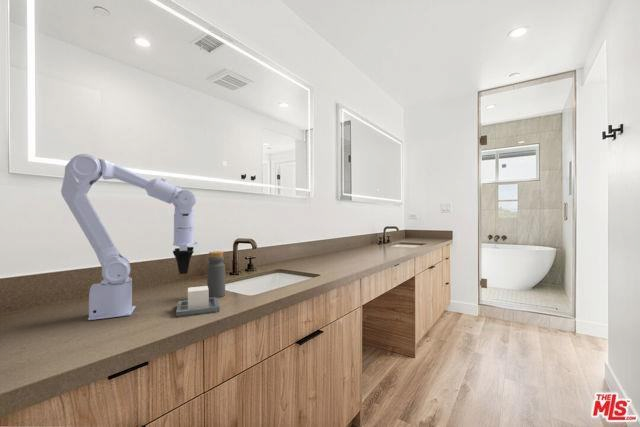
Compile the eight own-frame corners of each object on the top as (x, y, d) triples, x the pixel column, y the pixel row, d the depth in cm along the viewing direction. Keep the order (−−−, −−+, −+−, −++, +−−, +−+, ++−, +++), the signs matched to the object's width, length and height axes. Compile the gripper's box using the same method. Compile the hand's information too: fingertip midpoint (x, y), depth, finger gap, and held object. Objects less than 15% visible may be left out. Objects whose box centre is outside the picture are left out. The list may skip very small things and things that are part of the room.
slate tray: (176, 317, 78) (176, 312, 78) (178, 306, 88) (178, 301, 88) (219, 311, 82) (219, 306, 82) (216, 301, 92) (216, 297, 92)
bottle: (208, 299, 95) (208, 253, 95) (205, 294, 100) (205, 251, 100) (226, 296, 98) (226, 252, 98) (223, 292, 103) (223, 250, 103)
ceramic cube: (187, 311, 81) (187, 291, 81) (188, 306, 86) (188, 287, 86) (208, 308, 83) (208, 289, 83) (207, 303, 88) (207, 285, 88)
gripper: (198, 228, 86) (198, 274, 86) (197, 227, 99) (197, 267, 99) (171, 229, 83) (171, 276, 83) (174, 227, 96) (174, 268, 96)
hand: (183, 271), depth 91 cm, fingers open, 7 cm apart
